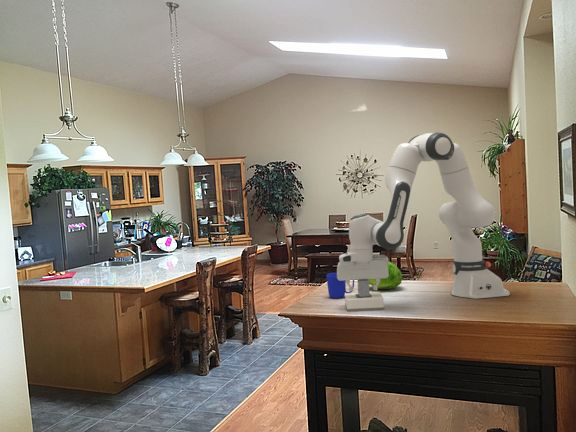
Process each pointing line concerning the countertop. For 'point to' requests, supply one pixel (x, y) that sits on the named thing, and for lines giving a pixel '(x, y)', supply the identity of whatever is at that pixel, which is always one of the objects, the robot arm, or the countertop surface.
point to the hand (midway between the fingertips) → (363, 290)
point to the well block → (364, 302)
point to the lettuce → (389, 278)
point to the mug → (336, 286)
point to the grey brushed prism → (363, 288)
